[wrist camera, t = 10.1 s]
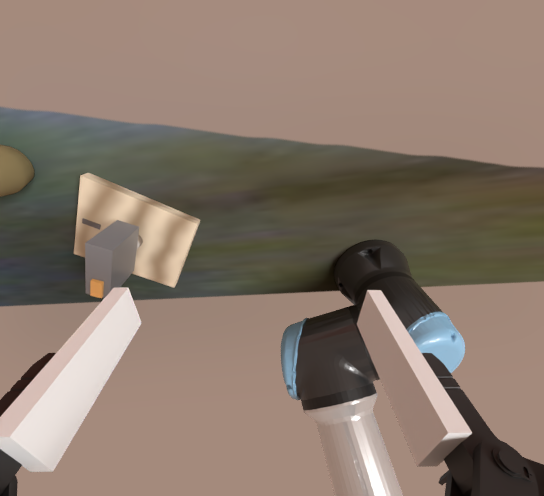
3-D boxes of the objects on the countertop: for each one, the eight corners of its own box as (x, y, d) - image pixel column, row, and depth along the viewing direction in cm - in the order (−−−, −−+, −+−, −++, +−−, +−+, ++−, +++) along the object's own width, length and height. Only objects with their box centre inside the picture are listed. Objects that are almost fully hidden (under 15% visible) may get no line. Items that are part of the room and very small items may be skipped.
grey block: (117, 219, 39) (82, 244, 32) (139, 226, 40) (110, 252, 32) (114, 264, 44) (83, 295, 36) (134, 270, 44) (107, 301, 37)
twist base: (200, 220, 44) (194, 230, 41) (177, 281, 52) (170, 295, 48) (88, 172, 40) (69, 179, 36) (80, 248, 47) (64, 260, 43)
